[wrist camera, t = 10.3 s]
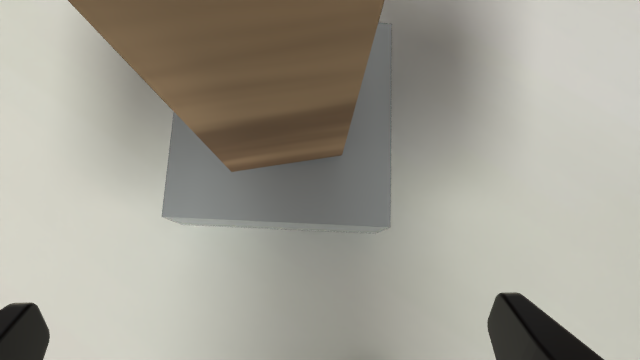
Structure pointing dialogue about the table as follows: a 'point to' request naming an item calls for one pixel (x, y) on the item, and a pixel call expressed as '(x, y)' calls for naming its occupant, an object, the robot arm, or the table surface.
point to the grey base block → (295, 173)
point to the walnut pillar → (249, 69)
